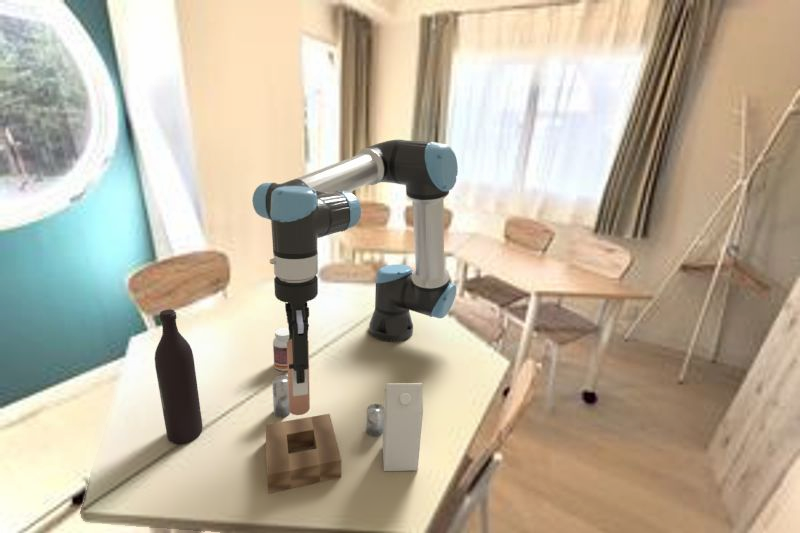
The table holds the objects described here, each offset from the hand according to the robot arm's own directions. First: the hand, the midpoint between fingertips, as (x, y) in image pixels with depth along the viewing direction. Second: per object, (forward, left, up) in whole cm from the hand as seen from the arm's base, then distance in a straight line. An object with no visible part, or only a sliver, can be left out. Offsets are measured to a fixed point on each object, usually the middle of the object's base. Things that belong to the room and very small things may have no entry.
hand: (299, 386), depth 81 cm
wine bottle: (+24, -14, -18) cm, 33 cm away
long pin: (0, 0, -5) cm, 5 cm away
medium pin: (+3, -16, -18) cm, 24 cm away
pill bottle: (+1, -36, -18) cm, 41 cm away
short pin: (-17, -4, -18) cm, 25 cm away
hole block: (0, 0, -18) cm, 18 cm away
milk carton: (-20, +5, -18) cm, 28 cm away
